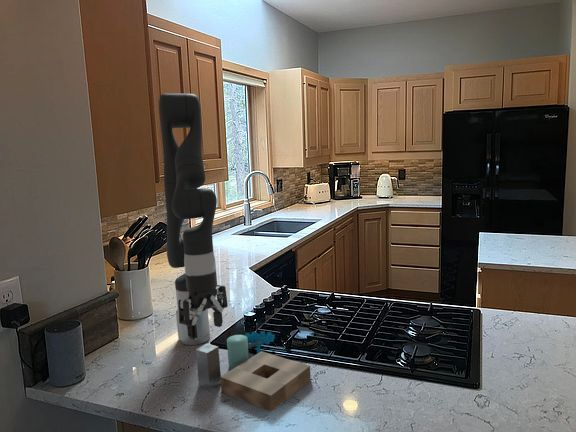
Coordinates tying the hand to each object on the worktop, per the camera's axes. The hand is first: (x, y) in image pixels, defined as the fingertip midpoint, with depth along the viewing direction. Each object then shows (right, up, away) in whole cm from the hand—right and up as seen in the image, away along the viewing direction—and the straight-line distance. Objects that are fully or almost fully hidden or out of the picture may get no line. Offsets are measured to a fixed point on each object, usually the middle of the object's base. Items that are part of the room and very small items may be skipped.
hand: (206, 332), depth 117 cm
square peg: (+1, -14, +2) cm, 14 cm away
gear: (+11, -11, +20) cm, 25 cm away
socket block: (+15, -14, 0) cm, 20 cm away
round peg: (+7, -12, +11) cm, 18 cm away
